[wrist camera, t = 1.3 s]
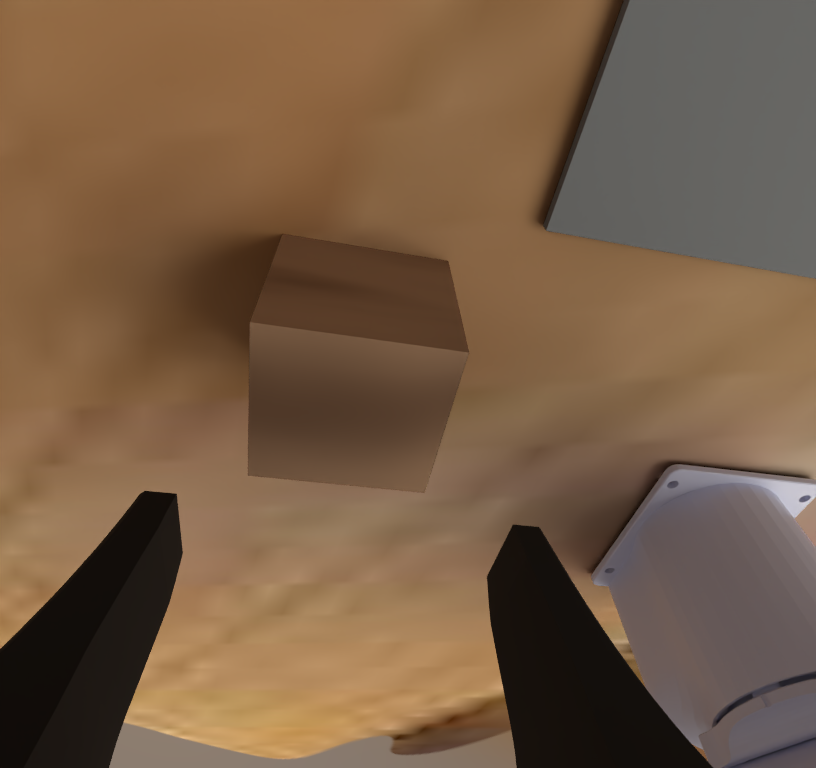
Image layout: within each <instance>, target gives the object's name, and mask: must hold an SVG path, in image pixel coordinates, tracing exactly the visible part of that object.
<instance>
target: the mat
mask: <svg viewBox="0 0 816 768" xmlns="http://www.w3.org/2000/svg"><path fill="white" fill-rule="evenodd" d="M543 226H544V228H545V230H546V231H551V232H557V233H562V234H568V235H573V236H579V237H585V238H590V239H596V240H602V241H607V242H613V243H618V244H624V245H630V246H635V247H641V248H647V249H652V250H658V251H663V252H669V253H675V254H680V255H686V256H691V257H697V258H703V259H708V260H714V261H720V262H725V263H731V264H736V265H742V266H748V267H753V268H759V269H765V270H770V271H776V272H781V273H787V274H793V275H798V276H804V277H810V278H815V279H816V0H624V1H623V4H622V7H621V10H620V12H619V15H618V18H617V21H616V24H615V26H614V29H613V32H612V35H611V38H610V40H609V43H608V46H607V49H606V52H605V54H604V57H603V60H602V63H601V66H600V68H599V71H598V74H597V77H596V80H595V82H594V85H593V88H592V91H591V94H590V96H589V99H588V102H587V105H586V107H585V110H584V113H583V116H582V119H581V121H580V124H579V127H578V130H577V133H576V135H575V138H574V141H573V144H572V147H571V149H570V152H569V155H568V158H567V161H566V163H565V166H564V169H563V172H562V175H561V177H560V180H559V183H558V186H557V189H556V191H555V194H554V197H553V200H552V203H551V205H550V208H549V211H548V214H547V217H546V219H545V222H544V225H543Z"/></svg>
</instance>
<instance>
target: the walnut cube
mask: <svg viewBox="0 0 816 768" xmlns="http://www.w3.org/2000/svg"><path fill="white" fill-rule="evenodd" d="M468 354H469V350H468V346H467V341H466V337H465V333H464V328H463V324H462V319H461V315H460V311H459V306H458V302H457V298H456V293H455V289H454V284H453V280H452V276H451V271H450V267H449V262H448V261H444V260H438V259H432V258H426V257H420V256H414V255H408V254H402V253H396V252H390V251H383V250H377V249H371V248H365V247H359V246H353V245H347V244H341V243H335V242H329V241H322V240H316V239H310V238H304V237H298V236H292V235H286V234H282V237H281V239H280V242H279V245H278V248H277V250H276V253H275V256H274V258H273V261H272V264H271V266H270V269H269V272H268V275H267V277H266V280H265V283H264V285H263V288H262V291H261V293H260V296H259V299H258V302H257V304H256V307H255V310H254V312H253V315H252V318H251V320H250V349H249V424H248V476H258V477H268V478H278V479H289V480H299V481H309V482H319V483H330V484H340V485H350V486H360V487H371V488H381V489H391V490H401V491H412V492H422V493H425V490H426V487H427V483H428V480H429V477H430V474H431V471H432V468H433V465H434V461H435V458H436V455H437V452H438V449H439V446H440V443H441V439H442V436H443V433H444V430H445V427H446V424H447V421H448V417H449V414H450V411H451V408H452V405H453V402H454V398H455V395H456V392H457V389H458V386H459V383H460V380H461V376H462V373H463V370H464V367H465V364H466V361H467V358H468Z"/></svg>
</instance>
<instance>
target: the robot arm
mask: <svg viewBox="0 0 816 768" xmlns="http://www.w3.org/2000/svg"><path fill="white" fill-rule="evenodd" d="M815 497H816V480H814V479H806V478H797V477H788V476H779V475H770V474H762V473H753V472H744V471H735V470H726V469H717V468H709V467H700V466H691V465H682V464H675V465H671V466H670V467H668V468H667V469H666V470H665V471H664V473H663V474H662V476H661V477H660V478H659V480H658V481H657V483H656V484H655V486H654V487H653V488H652V490H651V491H650V493H649V494H648V495H647V497H646V498H645V500H644V501H643V503H642V504H641V505H640V507H639V508H638V510H637V511H636V513H635V514H634V515H633V517H632V518H631V520H630V521H629V522H628V524H627V525H626V527H625V528H624V530H623V531H622V532H621V534H620V535H619V537H618V538H617V539H616V541H615V542H614V544H613V545H612V547H611V548H610V549H609V551H608V552H607V554H606V555H605V557H604V558H603V559H602V561H601V562H600V564H599V565H598V566H597V568H596V569H595V571H594V572H593V574H592V575H591V578H592V581H593V583H594V584H595V585H599V586H609V589H610V592H611V595H612V597H613V600H614V603H615V605H616V608H617V611H618V614H619V616H620V619H621V622H622V624H623V627H624V630H625V633H626V635H627V638H628V641H629V643H630V646H631V649H632V652H633V654H634V657H635V660H636V662H637V665H638V668H639V671H640V673H641V676H642V679H643V681H644V684H645V687H646V688H645V687H644V685H643V684H642V683H641V681H640V680H639V679H638V677H637V676H636V675H635V673H634V672H633V671H632V669H631V668H630V667H629V665H628V664H627V662H626V661H625V660H624V658H623V657H622V655H621V654H620V653H619V651H618V650H617V649H616V647H615V646H614V644H613V643H612V641H611V640H610V638H609V637H608V636H607V634H606V633H605V631H604V630H603V628H602V627H601V625H600V624H599V622H598V621H597V619H596V618H595V616H594V615H593V613H592V612H591V610H590V609H589V607H588V606H587V604H586V602H585V601H584V599H583V598H582V596H581V595H580V593H579V591H578V590H577V588H576V587H575V585H574V583H573V582H572V580H571V579H570V577H569V575H568V574H567V572H566V571H565V569H564V567H563V566H562V564H561V562H560V561H559V559H558V557H557V556H556V554H555V552H554V551H553V549H552V547H551V546H550V544H549V542H548V541H547V539H546V537H545V536H544V534H543V532H542V531H541V529H540V528H539V527H532V526H521V525H513V526H512V528H511V530H510V532H509V534H508V536H507V538H506V540H505V542H504V544H503V546H502V548H501V550H500V552H499V554H498V556H497V558H496V560H495V562H494V564H493V566H492V568H491V570H490V572H489V574H488V576H487V582H488V597H489V609H490V620H491V627H492V632H493V638H494V643H495V648H496V653H497V659H498V664H499V669H500V674H501V679H502V684H503V689H504V694H505V699H506V704H507V709H508V714H509V719H510V724H511V730H512V736H513V741H514V748H515V756H516V765H517V768H816V547H815V546H814V544H813V543H812V542H811V540H810V539H809V538H808V536H807V535H806V534H805V532H804V531H803V530H802V528H801V527H800V526H799V524H798V523H797V522H796V520H795V519H794V518H795V517H796V516H797V515H798V514H799V513H800V512H801V511H802V510H803V509H804V508H805V507H806V506H807V505H808V504H809V503H810V502H811V501H812V500H813V499H814V498H815ZM182 554H183V551H182V541H181V532H180V522H179V512H178V503H177V494H173V493H162V492H151V491H144V492H143V493H141V494H140V495H139V496H138V497H137V499H136V500H135V501H134V502H133V504H132V505H131V506H130V508H129V509H128V510H127V511H126V513H125V514H124V515H123V517H122V518H121V519H120V520H119V522H118V523H117V524H116V525H115V526H114V528H113V529H112V530H111V531H110V532H109V534H108V535H107V536H106V537H105V538H104V540H103V541H102V542H101V543H100V544H99V545H98V547H97V548H96V549H95V550H94V551H93V553H92V554H91V555H90V556H89V557H88V558H87V559H86V560H85V561H84V563H83V564H82V565H81V566H80V567H79V568H78V569H77V570H76V571H75V573H74V574H73V575H72V576H71V577H70V578H69V579H68V580H67V581H66V583H65V584H64V585H63V586H62V587H61V588H60V589H59V590H58V591H57V592H56V593H55V594H54V596H53V597H52V598H51V599H50V600H49V601H48V602H47V603H46V604H45V605H44V606H43V607H42V608H41V609H40V610H39V611H38V612H37V613H36V614H35V615H34V616H33V617H32V618H31V619H30V620H29V621H28V622H27V623H26V624H25V625H24V626H23V627H22V628H21V629H20V630H19V631H18V632H17V633H16V634H15V635H14V636H13V637H12V638H11V639H10V640H9V641H8V642H7V643H6V644H5V645H4V646H3V647H2V648H1V649H0V768H109V765H110V762H111V759H112V755H113V752H114V748H115V745H116V742H117V739H118V736H119V733H120V730H121V727H122V725H123V722H124V719H125V716H126V713H127V711H128V708H129V706H130V703H131V701H132V698H133V695H134V693H135V690H136V688H137V685H138V683H139V680H140V678H141V675H142V672H143V670H144V667H145V665H146V662H147V660H148V657H149V654H150V652H151V649H152V647H153V644H154V642H155V639H156V636H157V634H158V631H159V629H160V626H161V623H162V621H163V618H164V616H165V613H166V610H167V608H168V605H169V602H170V599H171V595H172V592H173V588H174V584H175V581H176V577H177V573H178V569H179V565H180V562H181V558H182ZM691 743H692V744H693V745H695V746H697V747H699V748H701V749H703V750H704V752H705V754H706V756H707V759H708V761H707V760H706V759H705V758H704V757H703V756H702V755H701V754H700V753H699V752H698V751H697V749H696V748H695V747H694V746H693V745H692V744H691Z"/></svg>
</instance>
